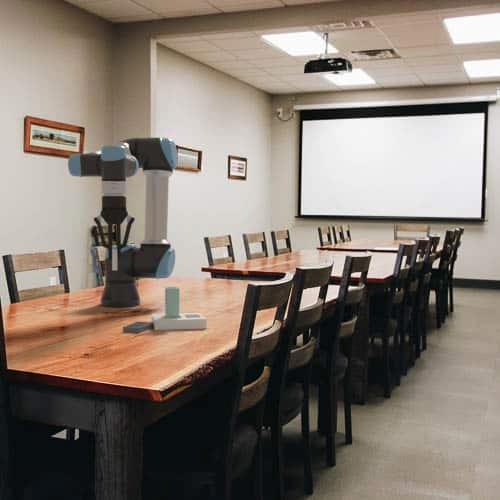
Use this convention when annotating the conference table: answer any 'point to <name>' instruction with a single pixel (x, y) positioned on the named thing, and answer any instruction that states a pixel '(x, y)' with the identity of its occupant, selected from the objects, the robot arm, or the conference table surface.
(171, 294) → the pale green block
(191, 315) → the outlet board
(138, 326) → the phone
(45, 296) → the conference table surface
